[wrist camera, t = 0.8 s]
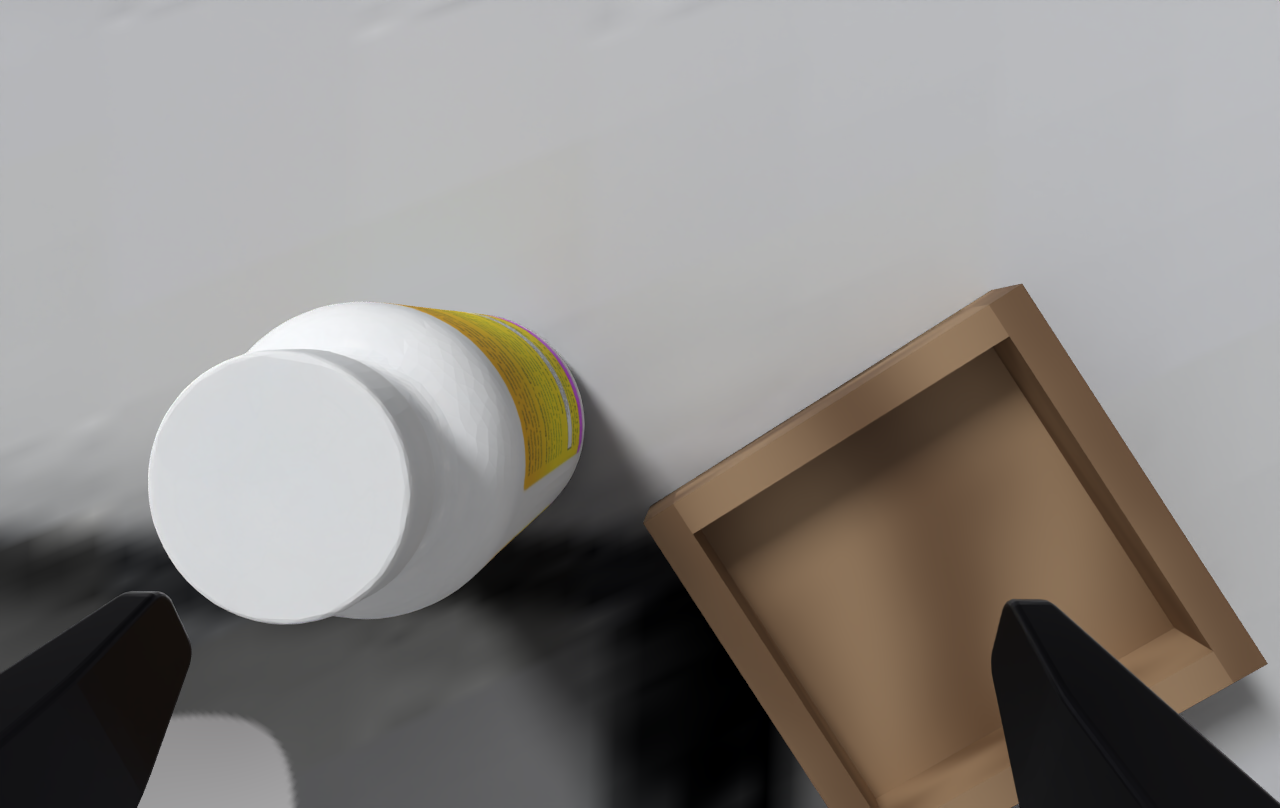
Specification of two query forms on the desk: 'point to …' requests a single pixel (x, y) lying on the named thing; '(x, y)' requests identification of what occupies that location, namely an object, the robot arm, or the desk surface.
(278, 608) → the supplement bottle
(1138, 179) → the desk surface
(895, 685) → the walnut tray
